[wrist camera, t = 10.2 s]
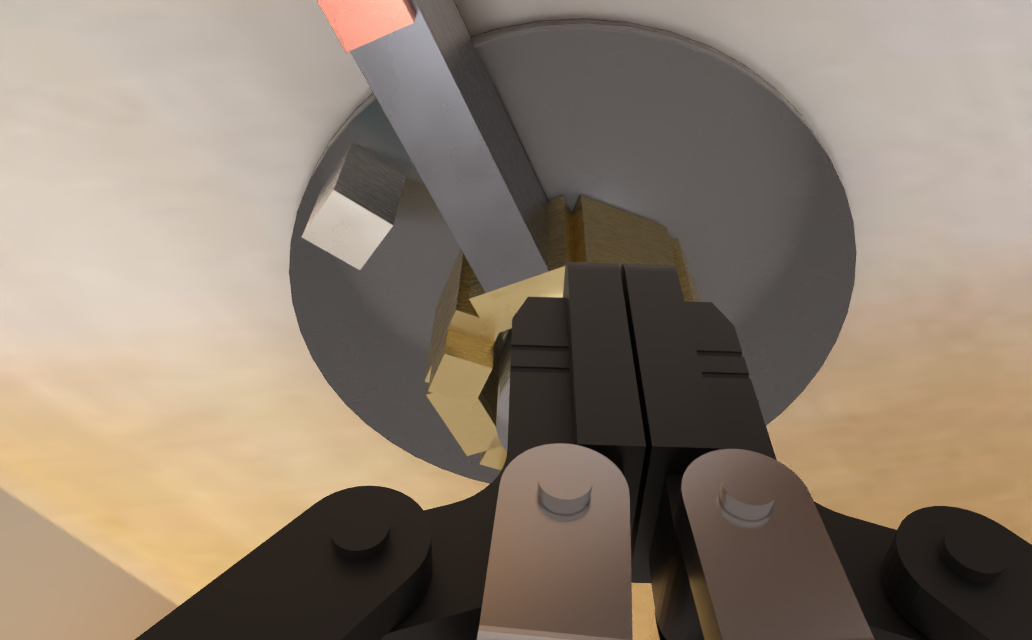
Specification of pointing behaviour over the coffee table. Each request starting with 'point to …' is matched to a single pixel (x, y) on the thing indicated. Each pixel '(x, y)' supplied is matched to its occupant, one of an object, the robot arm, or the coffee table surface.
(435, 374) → the grey and gold lever
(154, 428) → the coffee table surface
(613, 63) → the plate and cap
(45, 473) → the coffee table surface
